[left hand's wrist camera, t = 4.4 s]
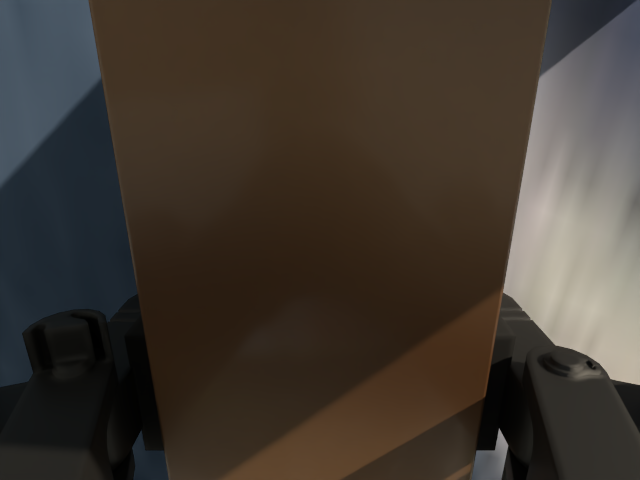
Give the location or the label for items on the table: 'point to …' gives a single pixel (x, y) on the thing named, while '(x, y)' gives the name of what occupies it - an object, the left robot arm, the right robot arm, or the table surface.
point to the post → (320, 223)
